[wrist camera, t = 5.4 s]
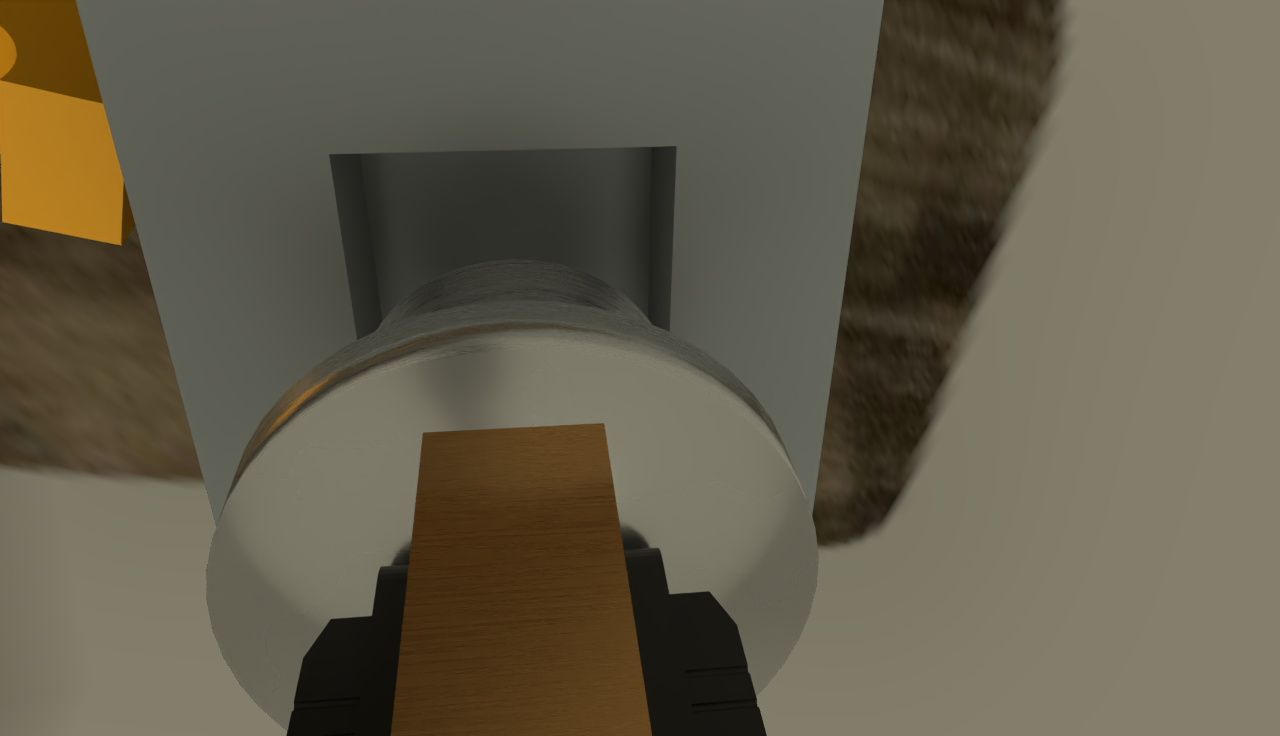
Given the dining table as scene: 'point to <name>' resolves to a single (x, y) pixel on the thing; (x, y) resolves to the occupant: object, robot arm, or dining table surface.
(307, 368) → the bearing housing
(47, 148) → the pipe clamp
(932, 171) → the dining table surface
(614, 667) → the end cover
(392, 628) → the robot arm
